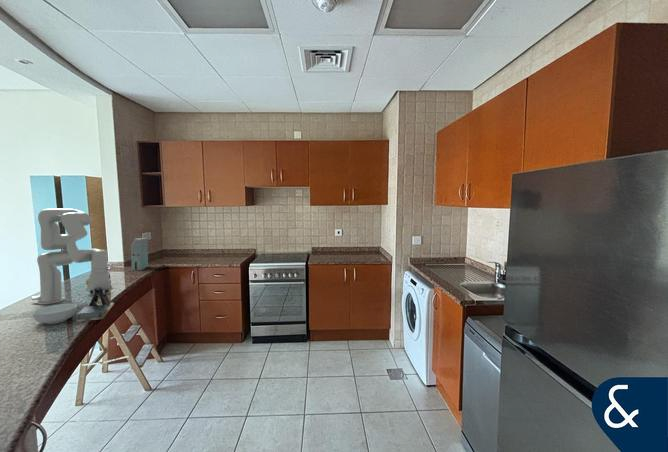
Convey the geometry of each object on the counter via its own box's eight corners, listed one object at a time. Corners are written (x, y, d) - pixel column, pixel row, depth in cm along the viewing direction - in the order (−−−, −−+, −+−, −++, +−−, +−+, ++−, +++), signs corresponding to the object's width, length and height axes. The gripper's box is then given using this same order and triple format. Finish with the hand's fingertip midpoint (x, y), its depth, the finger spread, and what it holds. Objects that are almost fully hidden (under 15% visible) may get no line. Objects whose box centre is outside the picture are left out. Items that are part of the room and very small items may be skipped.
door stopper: (88, 308, 165) (88, 288, 164) (92, 305, 170) (92, 285, 170) (106, 307, 168) (106, 287, 167) (110, 304, 174) (110, 284, 173)
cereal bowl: (74, 313, 162) (74, 301, 161) (80, 321, 151) (80, 308, 151) (31, 321, 148) (31, 308, 148) (34, 330, 138) (34, 316, 138)
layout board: (76, 321, 150) (76, 319, 149) (91, 306, 173) (91, 304, 173) (102, 318, 155) (102, 316, 154) (114, 304, 178) (114, 302, 178)
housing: (77, 319, 149) (77, 313, 149) (84, 312, 160) (84, 306, 159) (101, 316, 153) (101, 311, 153) (106, 309, 164) (106, 304, 164)
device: (139, 266, 287) (139, 237, 286) (148, 266, 289) (147, 237, 287) (131, 270, 271) (131, 239, 269) (140, 270, 273) (140, 239, 271)
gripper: (117, 268, 175) (117, 297, 176) (84, 270, 168) (84, 300, 169) (114, 271, 168) (115, 301, 169) (79, 272, 161) (80, 304, 162)
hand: (99, 300), depth 169 cm, fingers open, 2 cm apart
